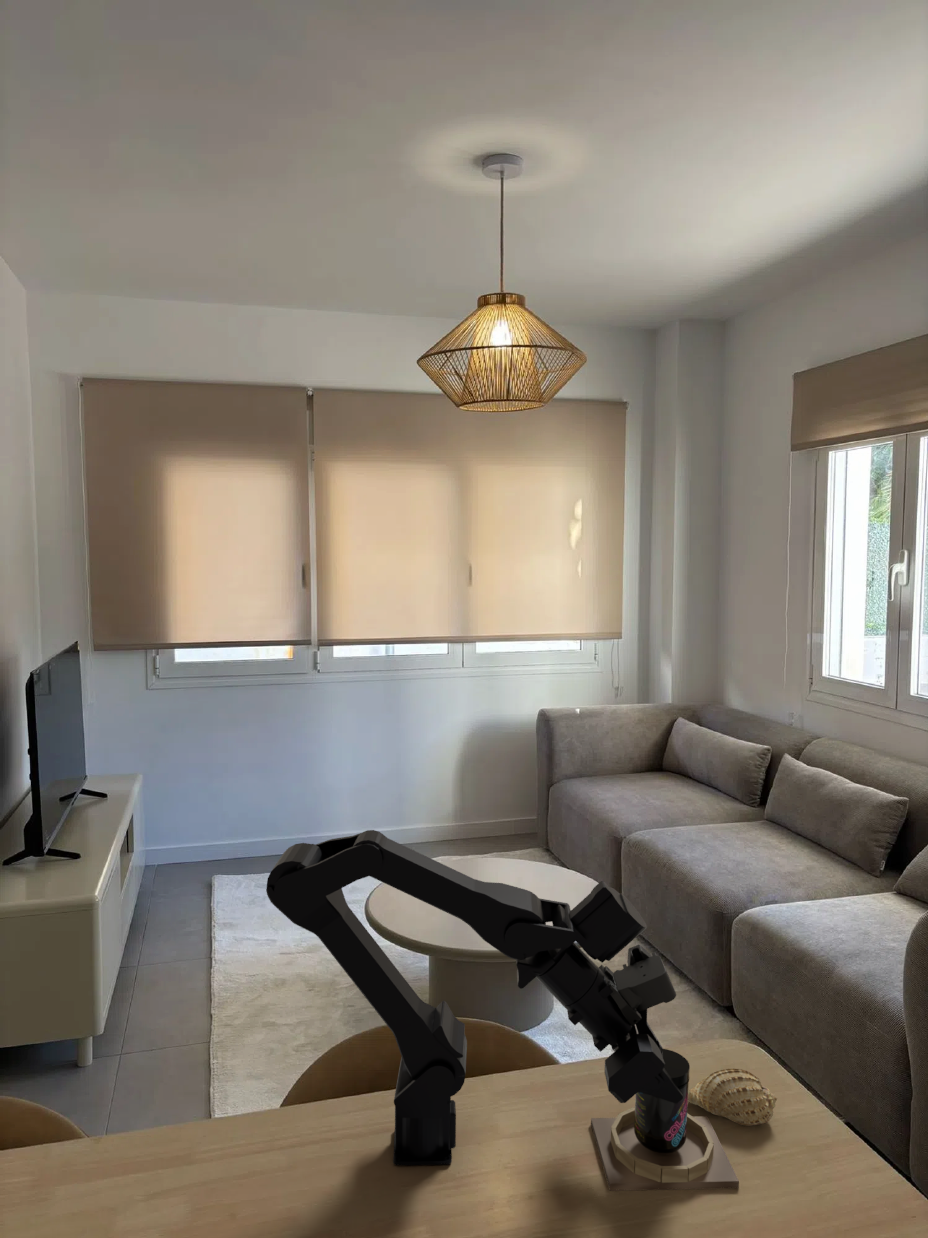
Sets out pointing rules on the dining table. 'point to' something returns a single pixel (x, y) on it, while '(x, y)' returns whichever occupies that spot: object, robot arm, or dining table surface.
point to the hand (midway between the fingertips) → (674, 1083)
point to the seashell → (734, 1097)
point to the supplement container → (664, 1111)
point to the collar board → (661, 1157)
